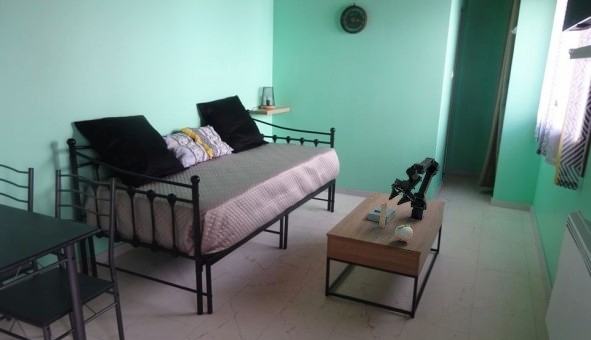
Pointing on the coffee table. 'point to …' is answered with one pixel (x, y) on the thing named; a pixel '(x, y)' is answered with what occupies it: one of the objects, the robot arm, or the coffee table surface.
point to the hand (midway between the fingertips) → (393, 202)
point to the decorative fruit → (404, 232)
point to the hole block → (375, 214)
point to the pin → (382, 215)
